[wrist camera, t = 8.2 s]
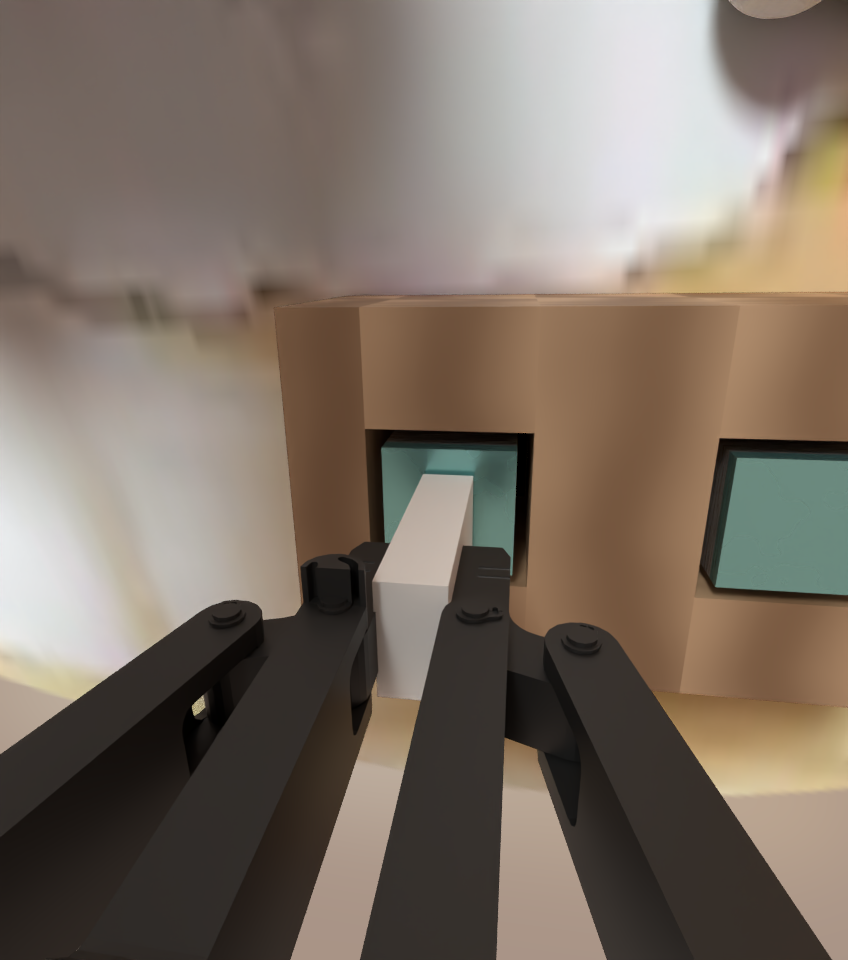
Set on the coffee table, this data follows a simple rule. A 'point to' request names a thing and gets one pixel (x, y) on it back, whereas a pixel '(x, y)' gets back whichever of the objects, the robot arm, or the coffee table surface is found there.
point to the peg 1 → (455, 455)
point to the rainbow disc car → (772, 7)
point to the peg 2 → (778, 516)
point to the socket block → (588, 455)
